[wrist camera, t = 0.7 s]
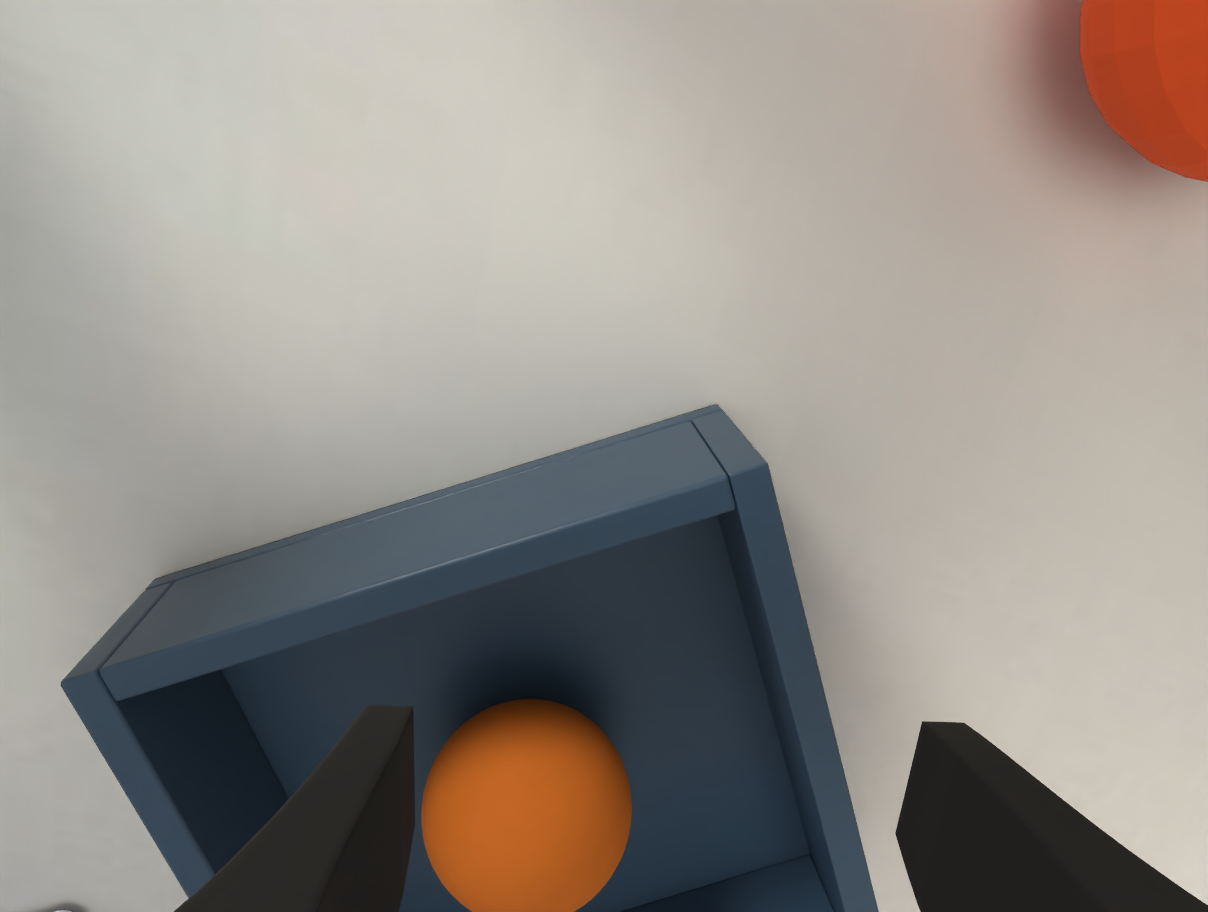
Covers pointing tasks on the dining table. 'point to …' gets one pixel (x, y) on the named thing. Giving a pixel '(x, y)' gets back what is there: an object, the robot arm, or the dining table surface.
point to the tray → (510, 668)
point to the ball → (526, 809)
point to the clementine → (1151, 77)
